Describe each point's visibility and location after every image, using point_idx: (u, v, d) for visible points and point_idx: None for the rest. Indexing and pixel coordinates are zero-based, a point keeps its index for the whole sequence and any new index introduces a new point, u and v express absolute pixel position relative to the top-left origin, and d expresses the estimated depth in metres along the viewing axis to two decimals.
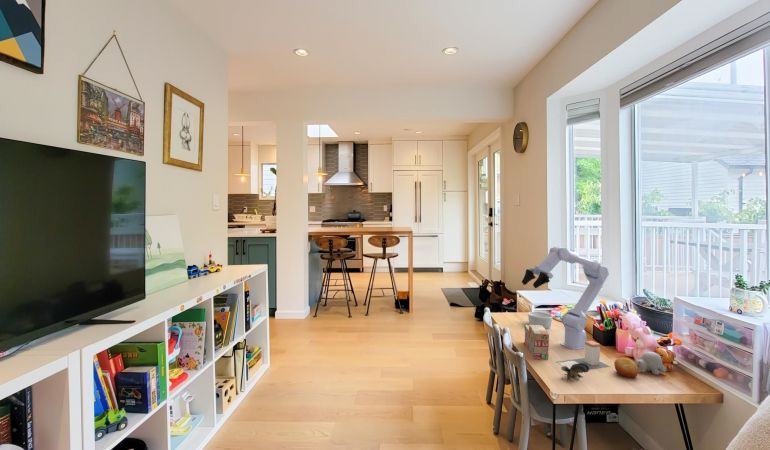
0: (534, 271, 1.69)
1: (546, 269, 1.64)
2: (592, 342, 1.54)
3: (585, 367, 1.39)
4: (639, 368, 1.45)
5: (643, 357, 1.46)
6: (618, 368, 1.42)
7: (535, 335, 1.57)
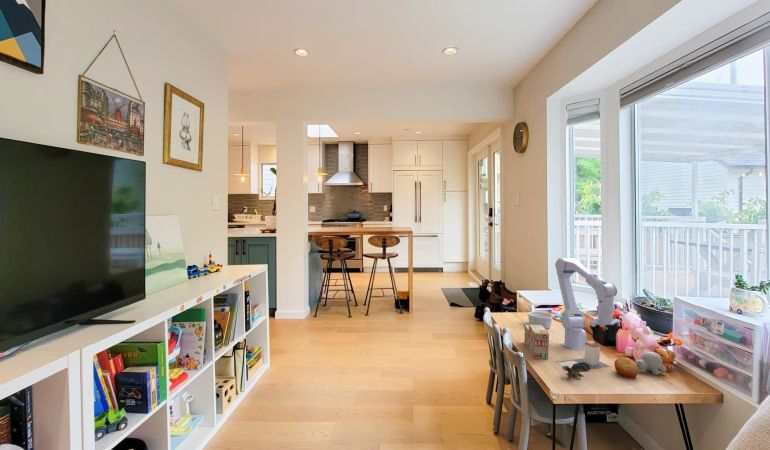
0: (601, 324, 1.54)
1: None
2: (592, 342, 1.54)
3: (586, 366, 1.39)
4: (639, 368, 1.45)
5: (643, 357, 1.46)
6: (618, 368, 1.42)
7: (535, 335, 1.58)
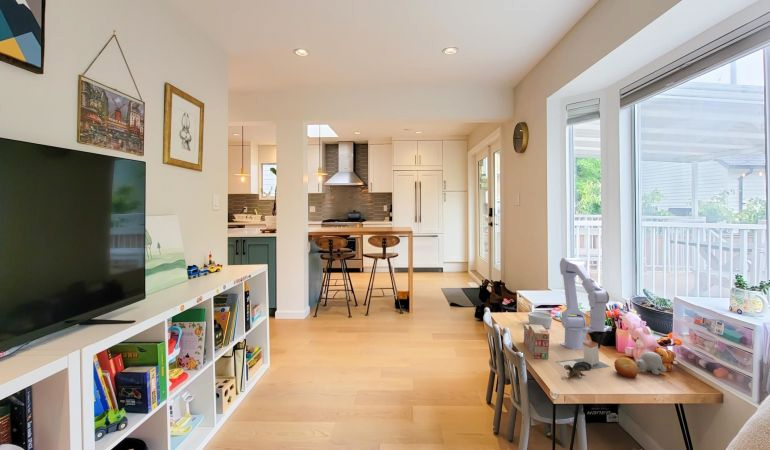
0: (593, 331, 1.53)
1: None
2: (590, 342, 1.54)
3: (587, 366, 1.40)
4: (639, 368, 1.45)
5: (643, 357, 1.46)
6: (618, 368, 1.42)
7: (535, 335, 1.58)
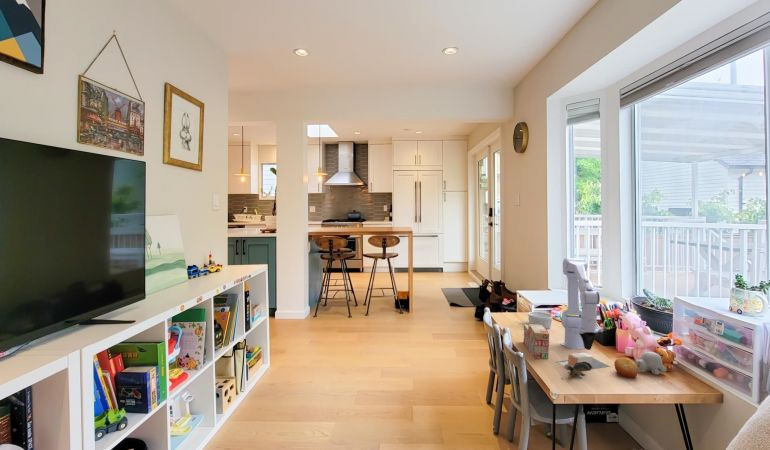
0: (584, 331, 1.51)
1: None
2: (571, 359, 1.51)
3: (588, 366, 1.40)
4: (639, 368, 1.45)
5: (643, 357, 1.46)
6: (618, 368, 1.42)
7: (535, 335, 1.58)
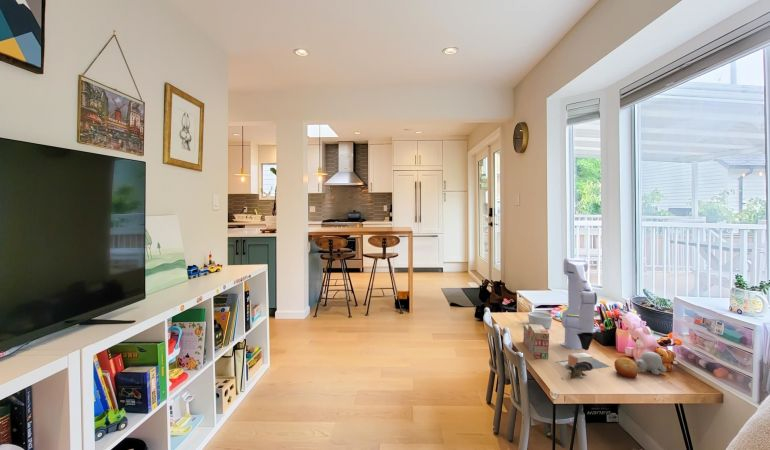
0: (581, 332, 1.51)
1: None
2: (571, 359, 1.51)
3: (589, 366, 1.40)
4: (639, 368, 1.45)
5: (643, 357, 1.46)
6: (618, 368, 1.42)
7: (535, 334, 1.58)
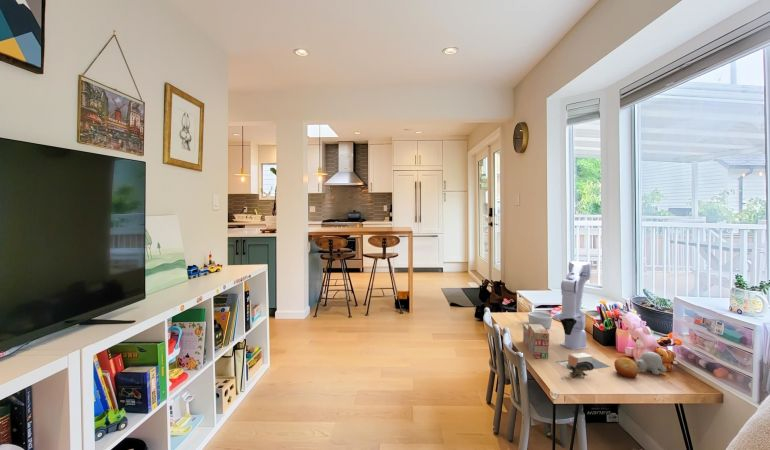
0: (564, 318, 1.62)
1: None
2: (571, 359, 1.51)
3: (590, 365, 1.41)
4: (639, 368, 1.45)
5: (643, 357, 1.46)
6: (618, 368, 1.42)
7: (535, 334, 1.58)
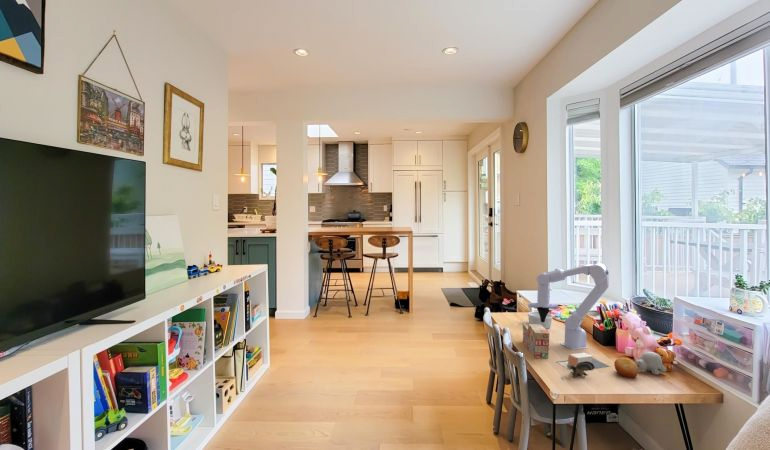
0: (537, 306, 1.82)
1: None
2: (571, 359, 1.51)
3: (590, 365, 1.41)
4: (639, 368, 1.45)
5: (643, 357, 1.46)
6: (618, 368, 1.42)
7: (536, 334, 1.58)
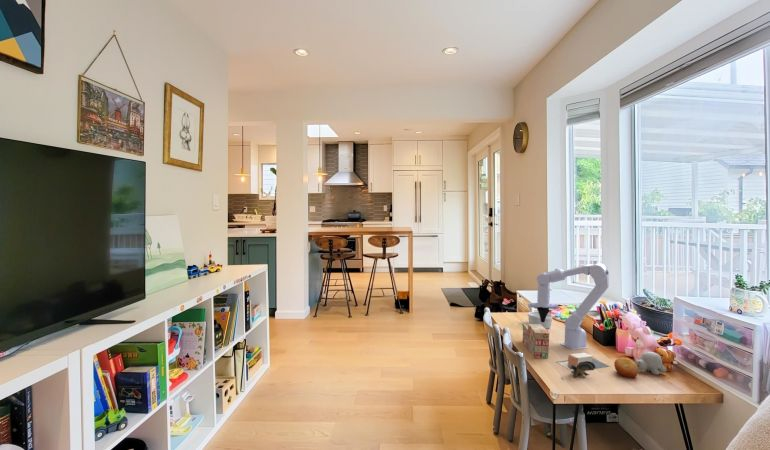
0: (537, 306, 1.82)
1: None
2: (571, 359, 1.51)
3: (591, 365, 1.41)
4: (639, 368, 1.45)
5: (643, 357, 1.46)
6: (618, 368, 1.42)
7: (536, 334, 1.58)
